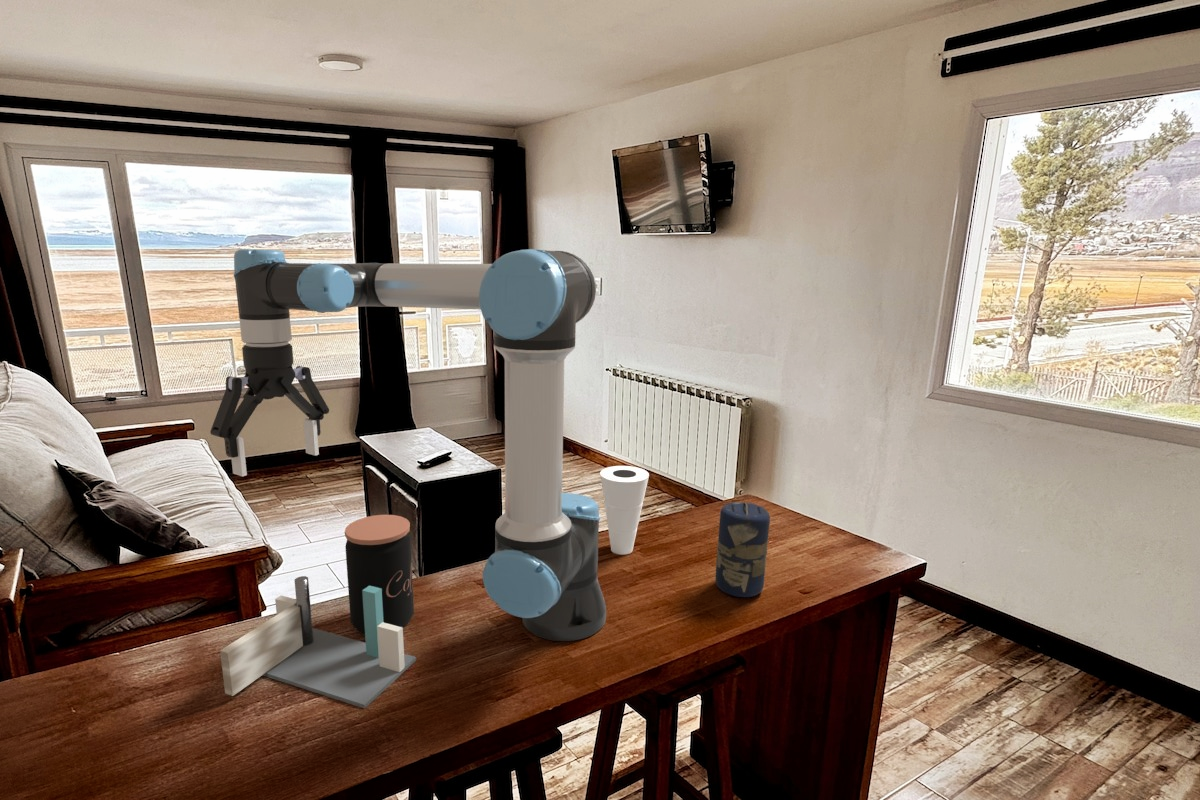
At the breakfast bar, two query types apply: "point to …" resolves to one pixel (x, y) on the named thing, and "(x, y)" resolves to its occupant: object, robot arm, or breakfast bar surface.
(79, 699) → the breakfast bar surface
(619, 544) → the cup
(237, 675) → the gate
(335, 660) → the mat
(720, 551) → the canister
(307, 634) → the hinge post
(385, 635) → the fence
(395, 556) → the coffee jar
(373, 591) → the bar
